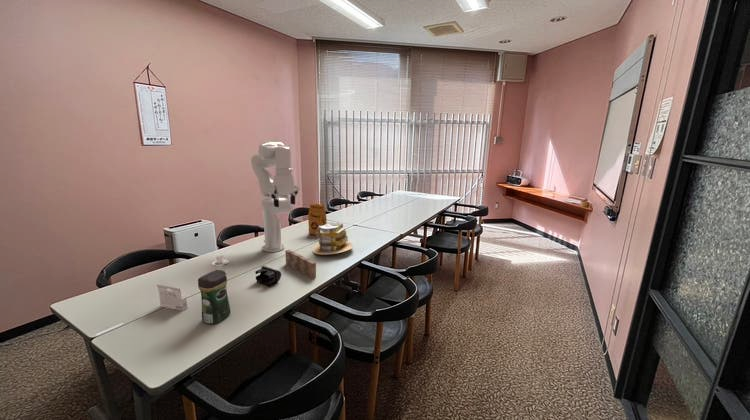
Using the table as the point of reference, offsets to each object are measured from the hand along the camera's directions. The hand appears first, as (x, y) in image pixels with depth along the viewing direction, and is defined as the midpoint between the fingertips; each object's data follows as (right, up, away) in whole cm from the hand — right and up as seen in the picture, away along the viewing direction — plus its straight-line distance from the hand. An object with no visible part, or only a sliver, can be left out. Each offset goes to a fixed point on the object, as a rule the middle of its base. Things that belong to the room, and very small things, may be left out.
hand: (284, 205), depth 158 cm
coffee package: (+6, -20, +61) cm, 64 cm away
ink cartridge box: (-35, -42, -33) cm, 64 cm away
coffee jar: (-15, -44, -39) cm, 61 cm away
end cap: (-5, -37, -10) cm, 39 cm away
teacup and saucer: (-37, -32, +6) cm, 50 cm away
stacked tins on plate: (+20, -28, +32) cm, 47 cm away
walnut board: (+7, -34, +3) cm, 35 cm away
